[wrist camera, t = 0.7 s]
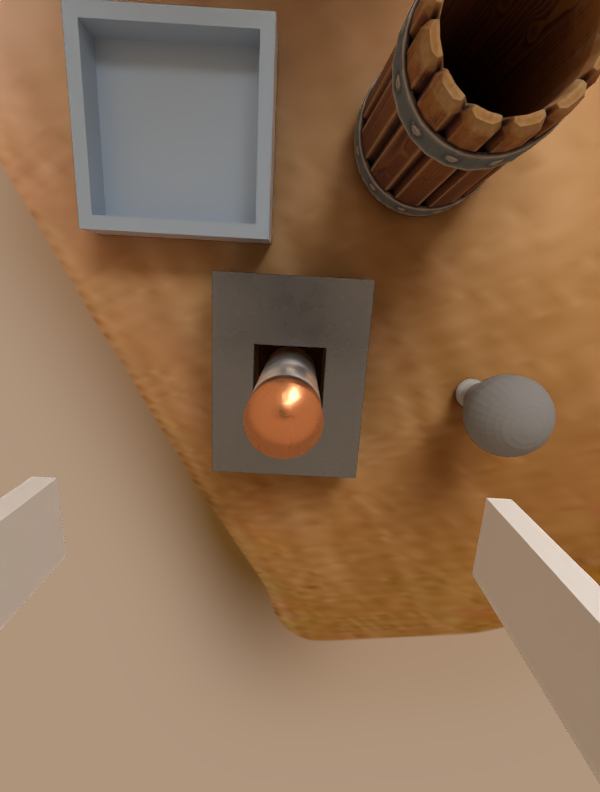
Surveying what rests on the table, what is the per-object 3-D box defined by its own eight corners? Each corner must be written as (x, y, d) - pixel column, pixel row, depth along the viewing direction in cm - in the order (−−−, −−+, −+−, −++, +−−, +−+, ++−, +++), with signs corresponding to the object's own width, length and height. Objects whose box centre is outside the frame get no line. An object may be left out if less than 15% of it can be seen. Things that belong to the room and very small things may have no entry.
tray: (84, 26, 29) (60, -3, 26) (278, 39, 29) (275, 11, 26) (99, 234, 33) (79, 228, 30) (271, 243, 33) (268, 239, 30)
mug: (407, 248, 33) (491, 214, 18) (323, 138, 31) (343, 3, 16) (572, 103, 30) (824, -70, 16) (493, -28, 28) (697, -365, 14)
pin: (265, 345, 35) (243, 380, 21) (316, 347, 35) (326, 384, 21) (264, 394, 36) (242, 456, 22) (313, 396, 36) (321, 460, 22)
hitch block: (222, 273, 33) (212, 270, 29) (366, 281, 33) (375, 279, 30) (221, 452, 37) (212, 471, 34) (350, 458, 38) (355, 478, 34)
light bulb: (512, 403, 36) (589, 444, 26) (451, 435, 37) (505, 486, 27) (485, 346, 35) (556, 367, 25) (423, 380, 36) (468, 414, 26)
